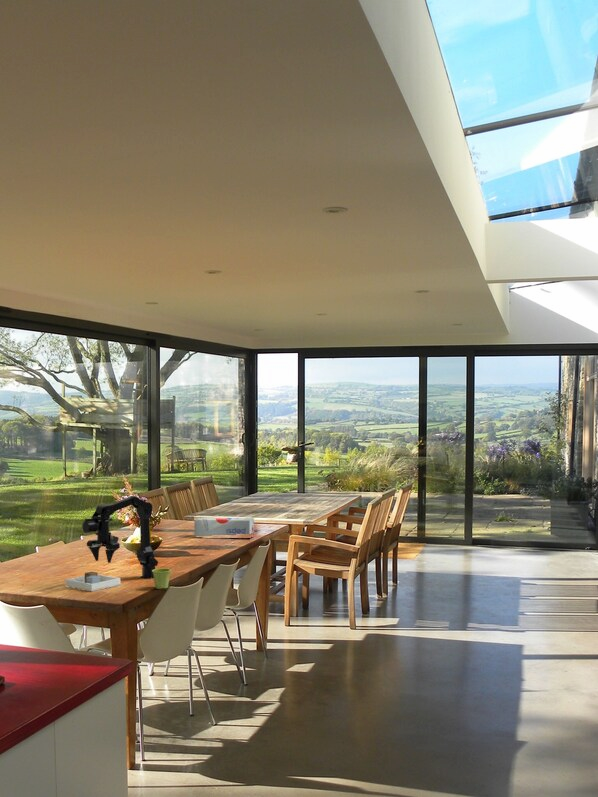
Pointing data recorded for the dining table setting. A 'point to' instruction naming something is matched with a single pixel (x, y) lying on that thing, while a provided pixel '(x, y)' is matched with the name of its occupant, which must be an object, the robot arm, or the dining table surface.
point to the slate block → (93, 579)
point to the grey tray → (104, 583)
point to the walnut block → (90, 575)
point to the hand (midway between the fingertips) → (103, 561)
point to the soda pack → (223, 526)
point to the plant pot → (161, 577)
